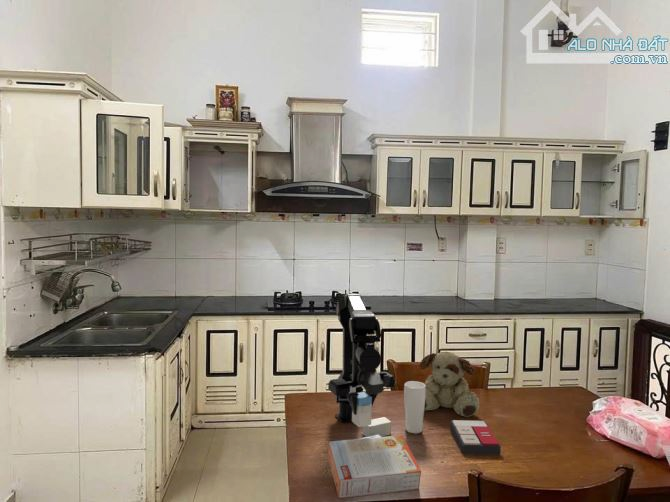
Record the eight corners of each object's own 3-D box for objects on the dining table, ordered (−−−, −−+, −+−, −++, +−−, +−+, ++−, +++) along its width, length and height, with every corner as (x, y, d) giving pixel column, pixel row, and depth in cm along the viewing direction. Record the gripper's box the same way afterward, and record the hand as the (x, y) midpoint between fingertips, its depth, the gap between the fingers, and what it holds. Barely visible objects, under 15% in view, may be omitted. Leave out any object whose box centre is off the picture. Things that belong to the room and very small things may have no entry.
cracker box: (401, 452, 126) (327, 458, 122) (403, 434, 124) (328, 439, 120) (419, 491, 113) (337, 499, 108) (422, 471, 111) (338, 478, 107)
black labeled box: (462, 443, 130) (450, 418, 145) (462, 457, 130) (449, 430, 145) (501, 444, 130) (484, 418, 145) (500, 458, 130) (484, 431, 145)
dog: (409, 410, 161) (411, 355, 159) (420, 392, 178) (422, 342, 177) (478, 422, 152) (480, 363, 151) (482, 402, 169) (484, 349, 168)
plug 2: (362, 433, 142) (362, 421, 142) (384, 429, 146) (384, 416, 145) (369, 439, 138) (369, 426, 138) (391, 434, 142) (391, 421, 142)
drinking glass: (424, 436, 141) (425, 389, 140) (402, 434, 142) (403, 387, 141) (424, 426, 147) (425, 381, 146) (403, 424, 149) (404, 380, 148)
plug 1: (351, 421, 128) (352, 393, 128) (364, 418, 130) (364, 391, 130) (359, 428, 124) (360, 399, 124) (372, 425, 126) (373, 397, 125)
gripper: (346, 371, 115) (345, 431, 116) (407, 362, 123) (405, 418, 124) (327, 359, 125) (327, 414, 126) (385, 351, 133) (384, 403, 134)
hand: (361, 413), depth 127 cm, fingers closed on plug 1, 4 cm apart
